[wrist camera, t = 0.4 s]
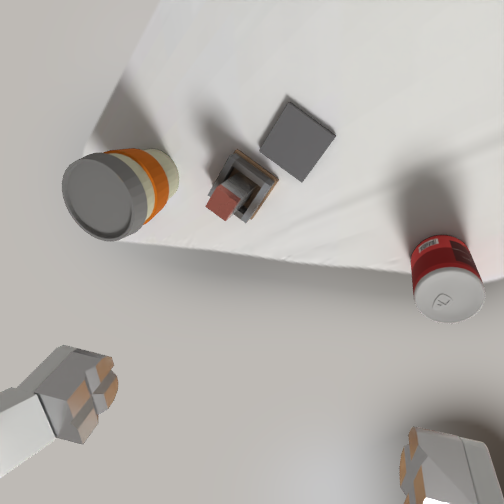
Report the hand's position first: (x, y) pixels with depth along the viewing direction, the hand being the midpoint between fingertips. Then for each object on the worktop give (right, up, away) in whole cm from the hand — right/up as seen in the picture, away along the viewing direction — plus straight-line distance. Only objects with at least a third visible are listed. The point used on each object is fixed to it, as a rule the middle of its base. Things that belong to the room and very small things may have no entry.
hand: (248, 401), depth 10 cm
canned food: (+28, +3, +44) cm, 52 cm away
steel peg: (-1, +14, +48) cm, 50 cm away
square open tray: (-1, +15, +49) cm, 51 cm away
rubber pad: (+7, +20, +43) cm, 48 cm away
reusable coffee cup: (-17, +18, +53) cm, 59 cm away
